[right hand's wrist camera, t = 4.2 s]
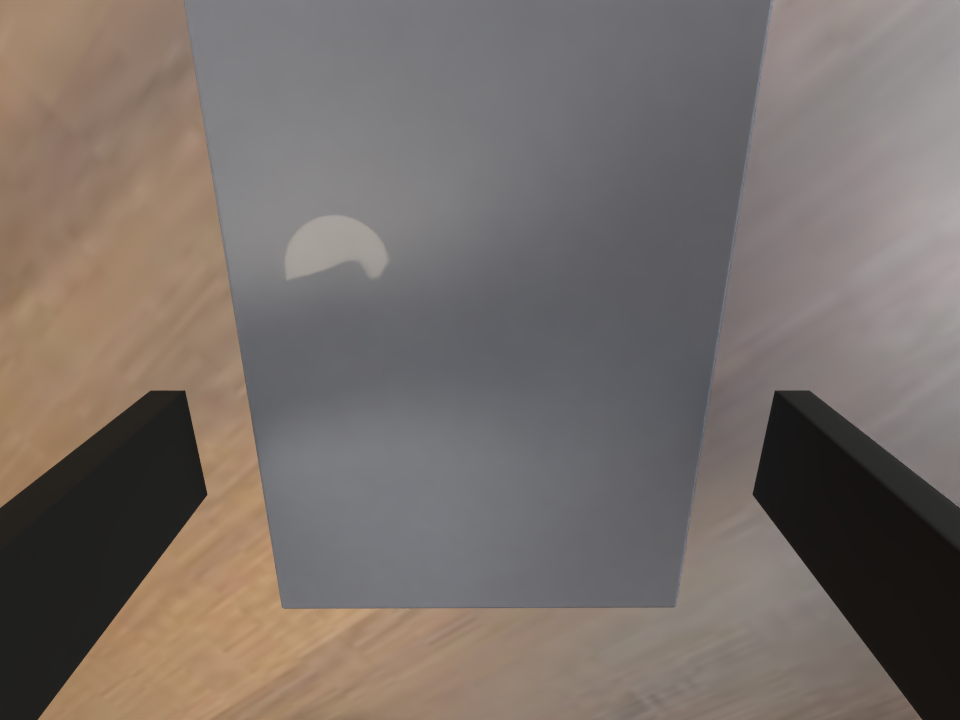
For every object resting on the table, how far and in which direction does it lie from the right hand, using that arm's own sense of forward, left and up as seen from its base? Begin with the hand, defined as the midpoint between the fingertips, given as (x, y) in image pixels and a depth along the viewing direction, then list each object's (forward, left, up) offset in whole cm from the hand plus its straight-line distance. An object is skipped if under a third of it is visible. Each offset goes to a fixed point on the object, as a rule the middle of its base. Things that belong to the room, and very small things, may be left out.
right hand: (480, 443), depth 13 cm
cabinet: (+2, +2, -10) cm, 11 cm away
